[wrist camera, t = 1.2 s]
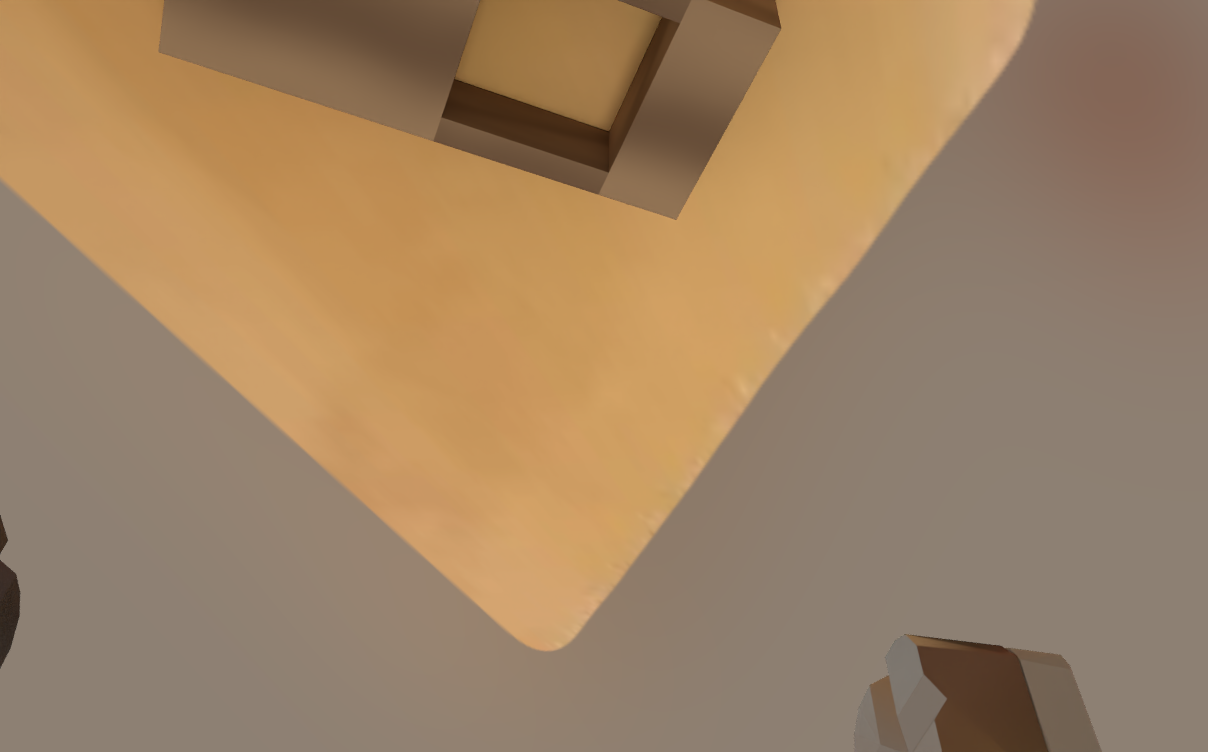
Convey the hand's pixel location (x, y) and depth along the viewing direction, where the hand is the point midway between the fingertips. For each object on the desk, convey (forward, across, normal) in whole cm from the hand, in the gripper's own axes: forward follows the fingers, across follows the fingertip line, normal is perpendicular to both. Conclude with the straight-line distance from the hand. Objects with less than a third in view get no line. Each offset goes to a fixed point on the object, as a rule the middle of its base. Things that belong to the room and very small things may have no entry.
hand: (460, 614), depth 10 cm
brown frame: (+30, +3, +6) cm, 30 cm away
